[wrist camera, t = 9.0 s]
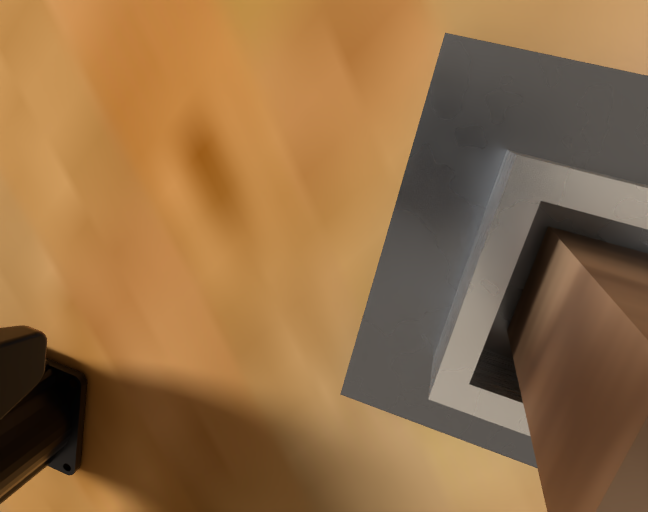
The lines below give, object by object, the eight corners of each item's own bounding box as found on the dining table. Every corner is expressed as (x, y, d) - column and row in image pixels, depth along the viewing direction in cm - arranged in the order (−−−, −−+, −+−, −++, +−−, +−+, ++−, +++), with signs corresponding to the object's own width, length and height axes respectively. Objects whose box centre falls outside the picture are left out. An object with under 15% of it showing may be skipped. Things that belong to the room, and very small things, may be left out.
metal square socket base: (695, 511, 18) (756, 611, 14) (345, 382, 21) (320, 438, 17) (931, 142, 13) (1111, 148, 10) (446, 38, 16) (441, 12, 12)
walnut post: (624, 368, 16) (839, 688, 7) (506, 330, 17) (561, 574, 8) (677, 261, 15) (1026, 481, 6) (548, 226, 16) (673, 369, 7)
